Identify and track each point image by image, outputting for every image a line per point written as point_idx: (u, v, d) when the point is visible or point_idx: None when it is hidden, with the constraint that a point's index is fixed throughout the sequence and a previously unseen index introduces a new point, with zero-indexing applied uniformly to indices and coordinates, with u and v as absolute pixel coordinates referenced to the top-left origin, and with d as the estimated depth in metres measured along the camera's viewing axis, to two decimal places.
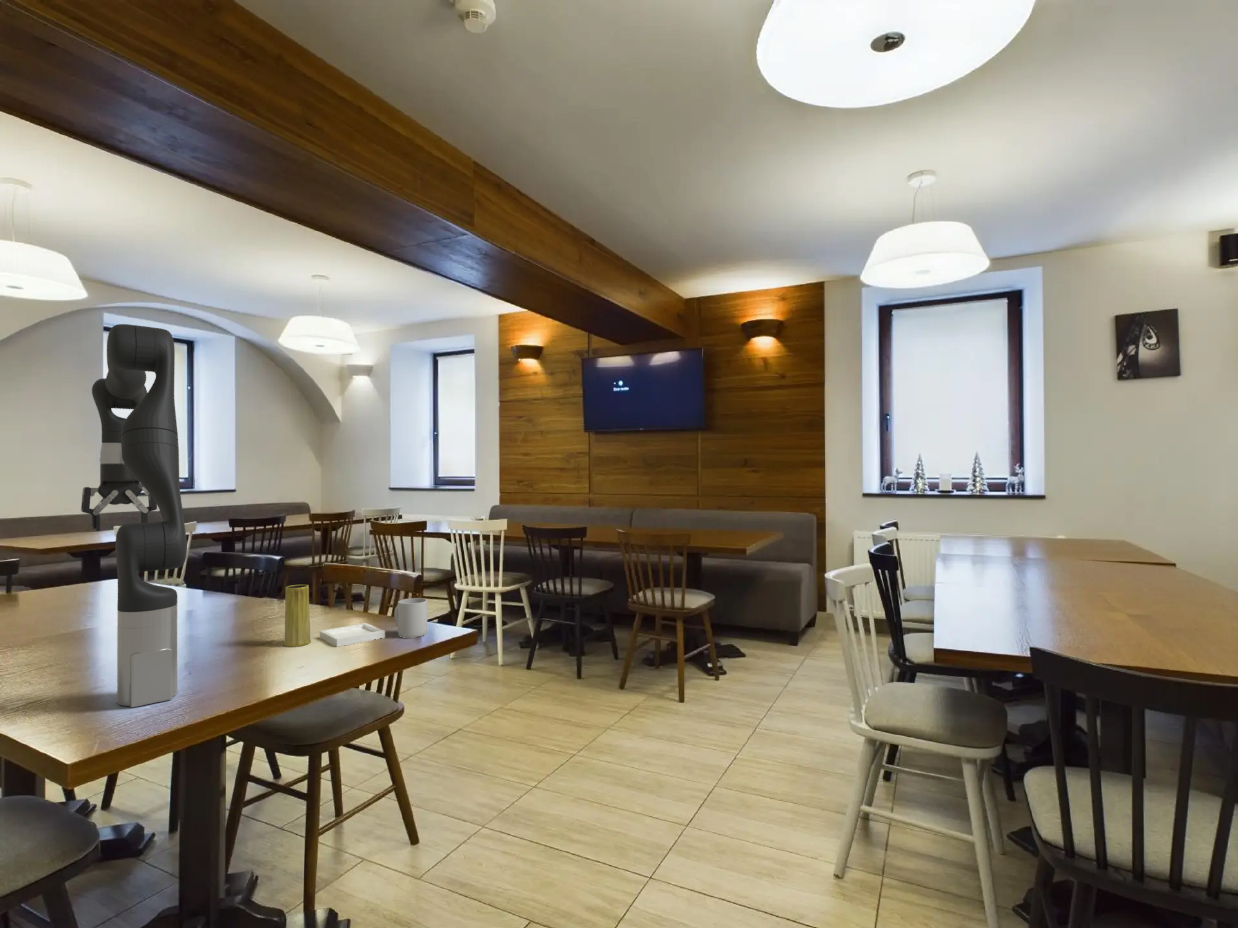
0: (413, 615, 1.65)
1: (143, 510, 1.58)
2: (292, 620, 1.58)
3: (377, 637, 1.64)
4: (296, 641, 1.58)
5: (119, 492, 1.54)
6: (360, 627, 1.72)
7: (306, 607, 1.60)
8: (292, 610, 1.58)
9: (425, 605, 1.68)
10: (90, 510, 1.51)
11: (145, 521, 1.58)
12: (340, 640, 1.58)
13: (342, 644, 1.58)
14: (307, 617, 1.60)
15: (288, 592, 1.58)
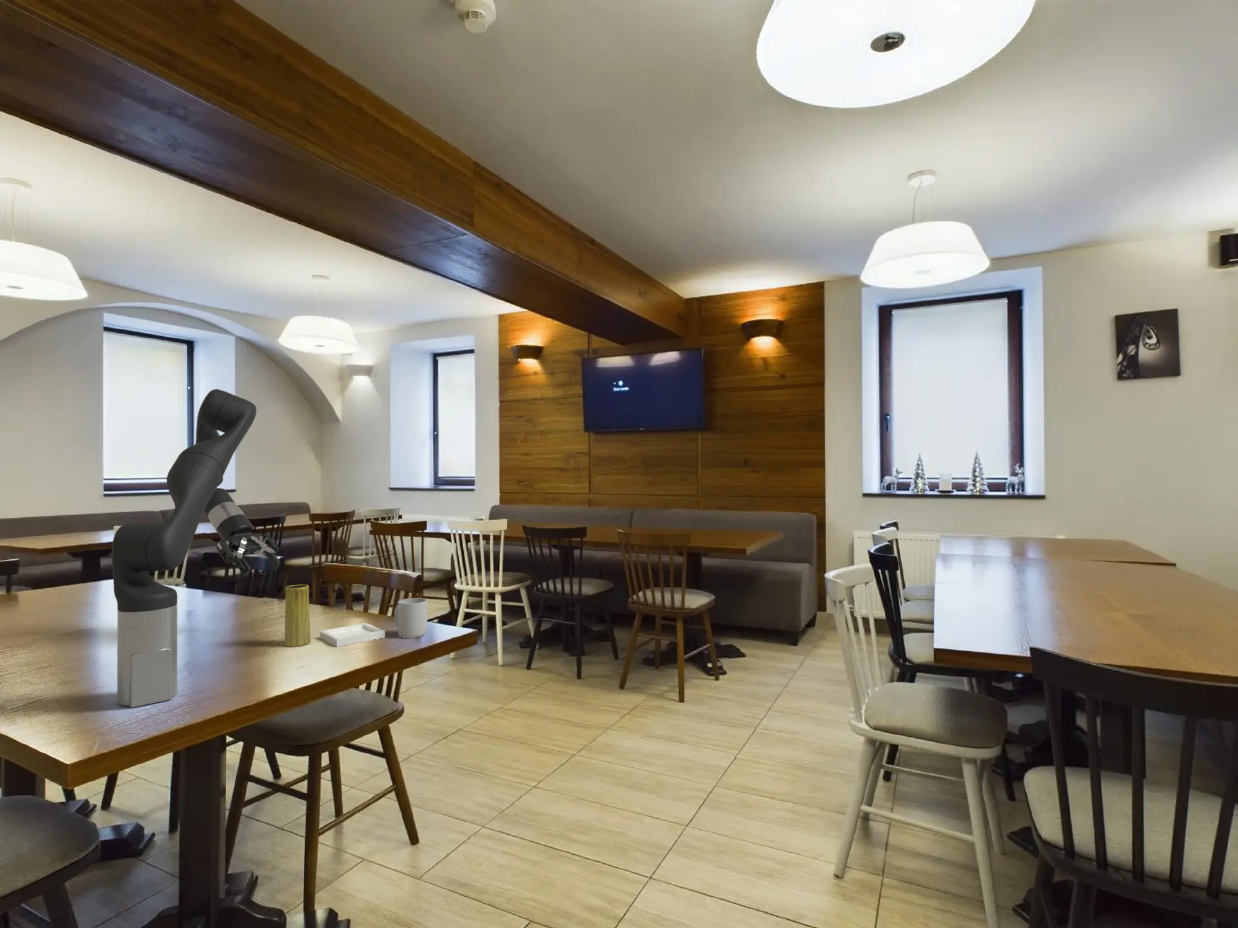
0: (413, 615, 1.65)
1: None
2: (292, 620, 1.58)
3: (377, 637, 1.64)
4: (296, 641, 1.58)
5: None
6: (360, 627, 1.72)
7: (306, 607, 1.60)
8: (292, 610, 1.58)
9: (425, 605, 1.68)
10: None
11: None
12: (340, 640, 1.58)
13: (342, 644, 1.58)
14: (307, 617, 1.60)
15: (288, 592, 1.58)
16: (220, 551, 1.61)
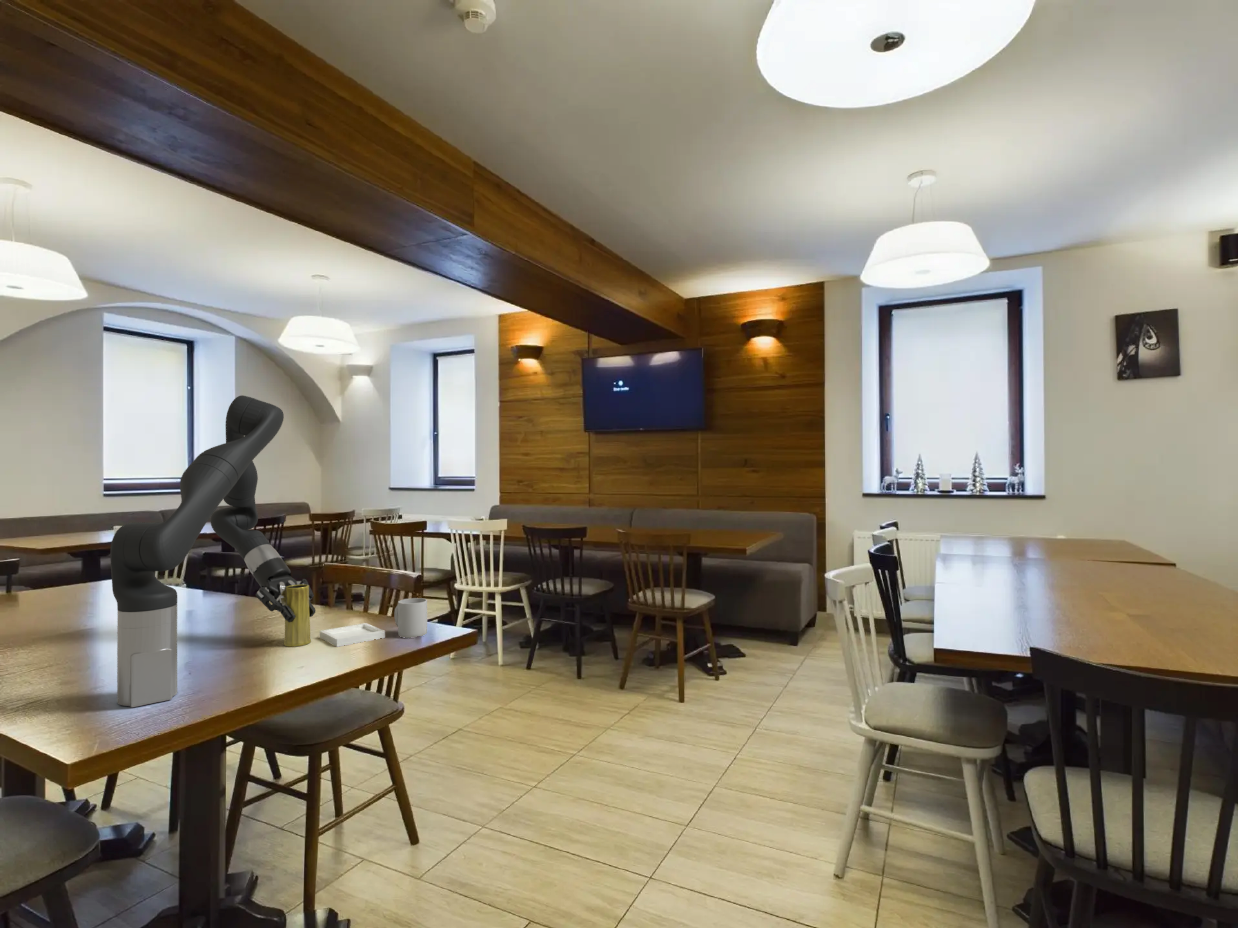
0: (413, 615, 1.65)
1: None
2: None
3: (377, 637, 1.64)
4: (296, 641, 1.58)
5: None
6: (360, 627, 1.72)
7: (306, 607, 1.60)
8: (292, 610, 1.58)
9: (425, 605, 1.68)
10: None
11: None
12: (340, 640, 1.58)
13: (342, 644, 1.58)
14: (307, 617, 1.60)
15: (288, 592, 1.58)
16: (262, 600, 1.56)
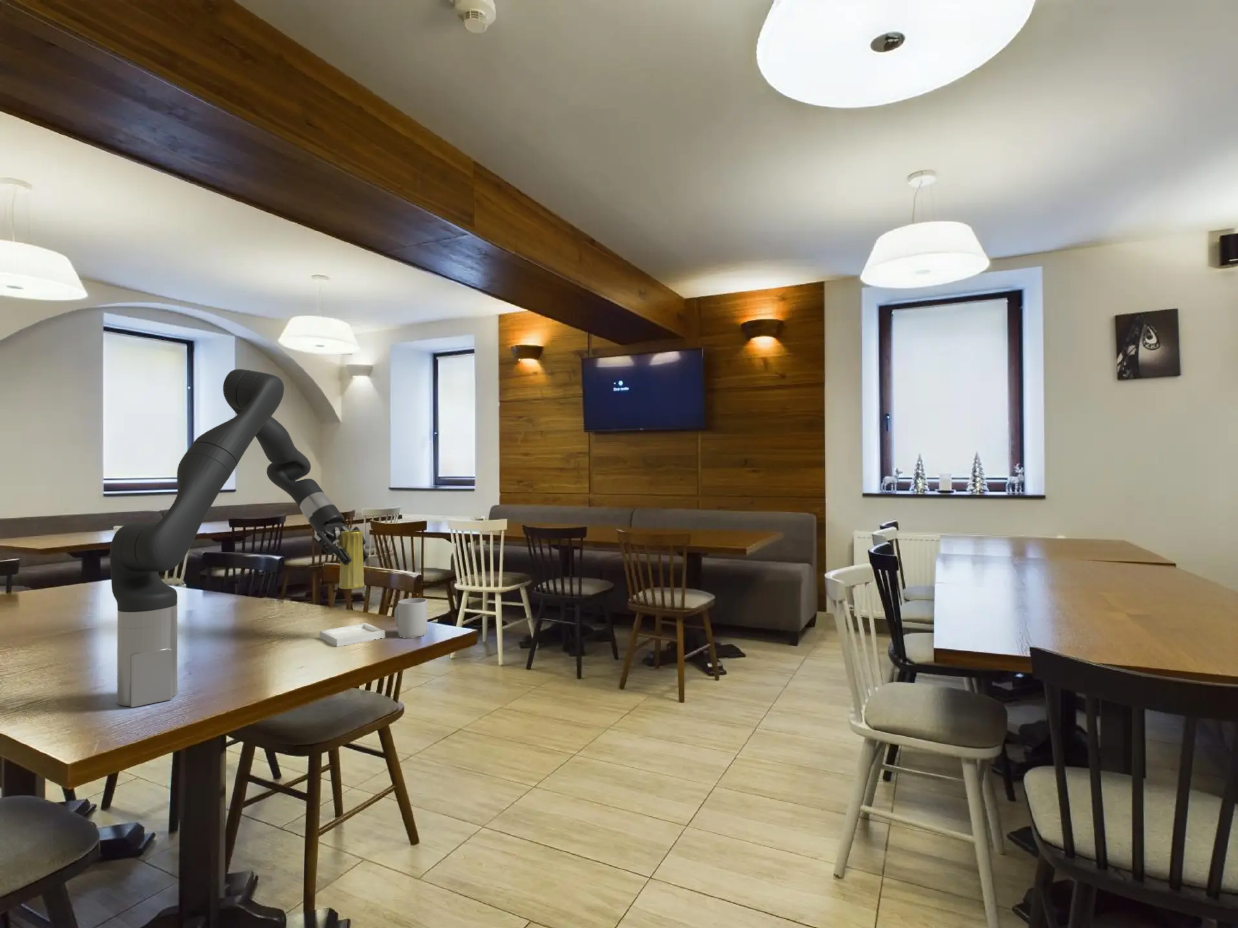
0: (413, 615, 1.65)
1: None
2: None
3: (377, 637, 1.64)
4: (351, 584, 1.63)
5: None
6: (360, 627, 1.72)
7: (360, 551, 1.66)
8: (348, 553, 1.64)
9: (425, 605, 1.68)
10: None
11: None
12: (340, 640, 1.58)
13: (342, 644, 1.58)
14: (361, 561, 1.66)
15: (343, 536, 1.64)
16: (319, 543, 1.62)
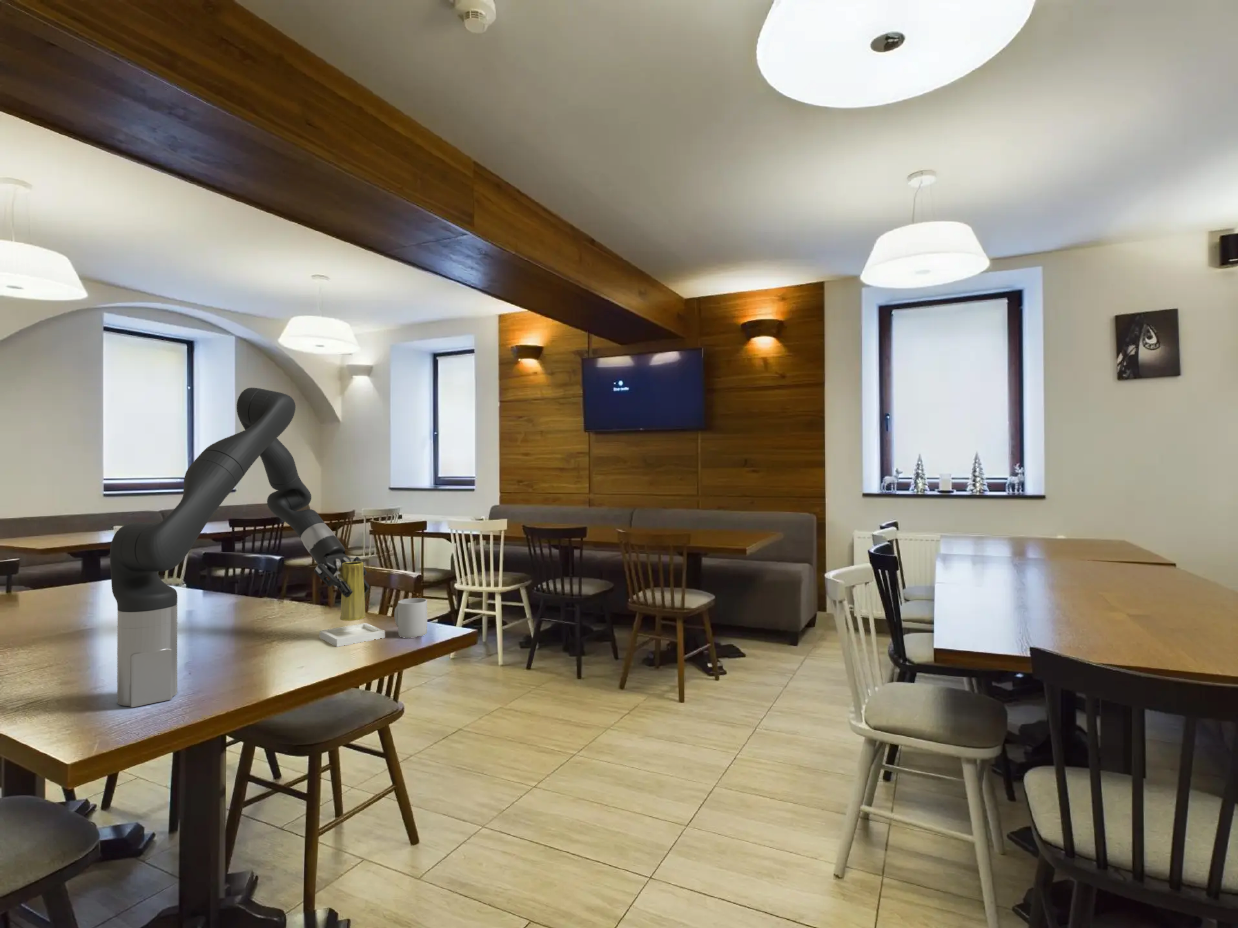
0: (413, 615, 1.65)
1: None
2: None
3: (377, 637, 1.64)
4: (352, 616, 1.64)
5: None
6: (360, 627, 1.72)
7: (361, 583, 1.66)
8: (349, 585, 1.64)
9: (425, 605, 1.68)
10: None
11: None
12: (340, 640, 1.58)
13: (342, 644, 1.58)
14: (362, 593, 1.66)
15: (344, 568, 1.64)
16: (320, 575, 1.62)
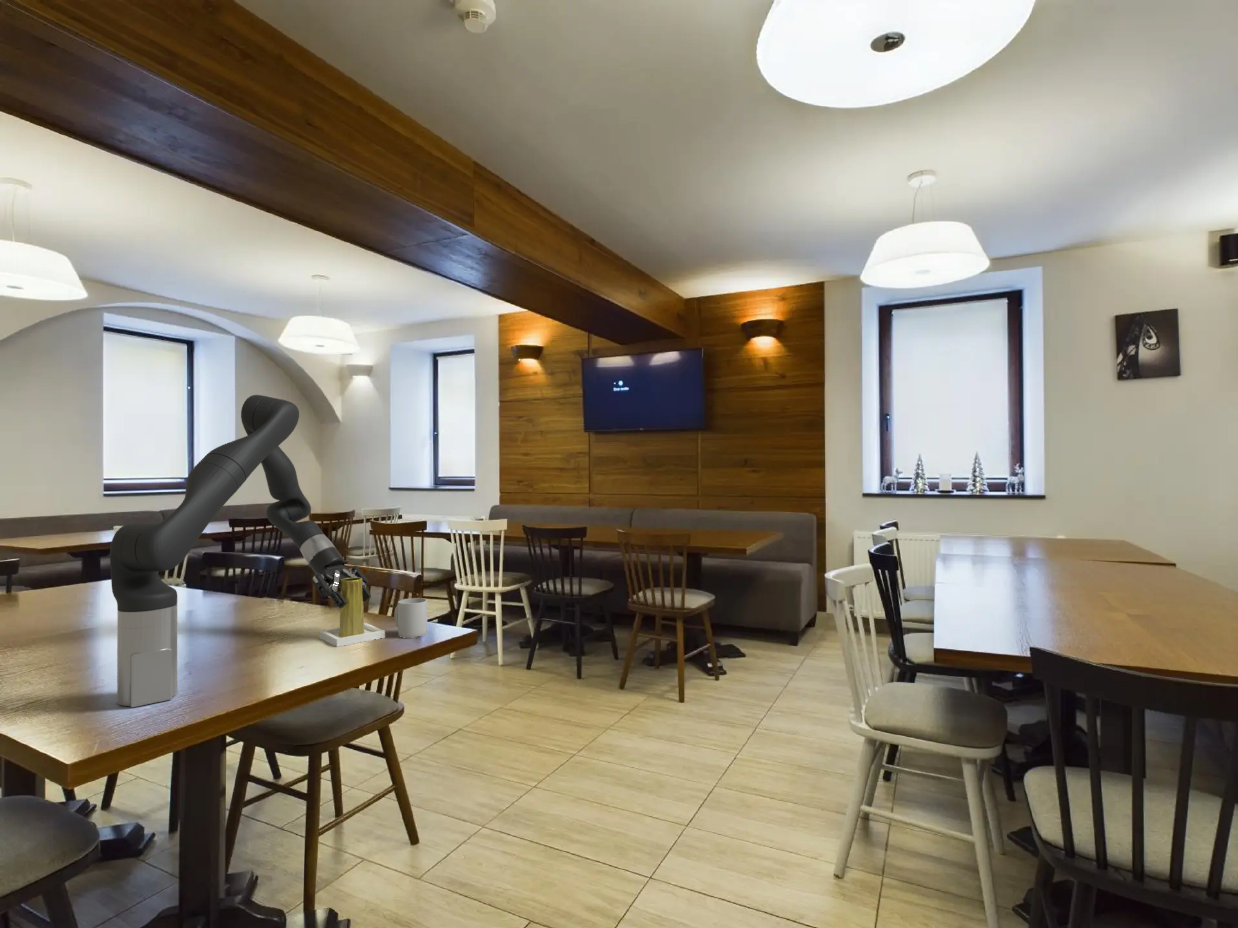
0: (413, 615, 1.65)
1: None
2: (347, 611, 1.63)
3: (377, 637, 1.64)
4: (351, 632, 1.63)
5: None
6: None
7: (360, 599, 1.65)
8: (347, 602, 1.63)
9: (425, 605, 1.68)
10: None
11: None
12: (340, 640, 1.58)
13: (342, 644, 1.58)
14: (361, 609, 1.65)
15: (343, 584, 1.64)
16: (316, 585, 1.61)
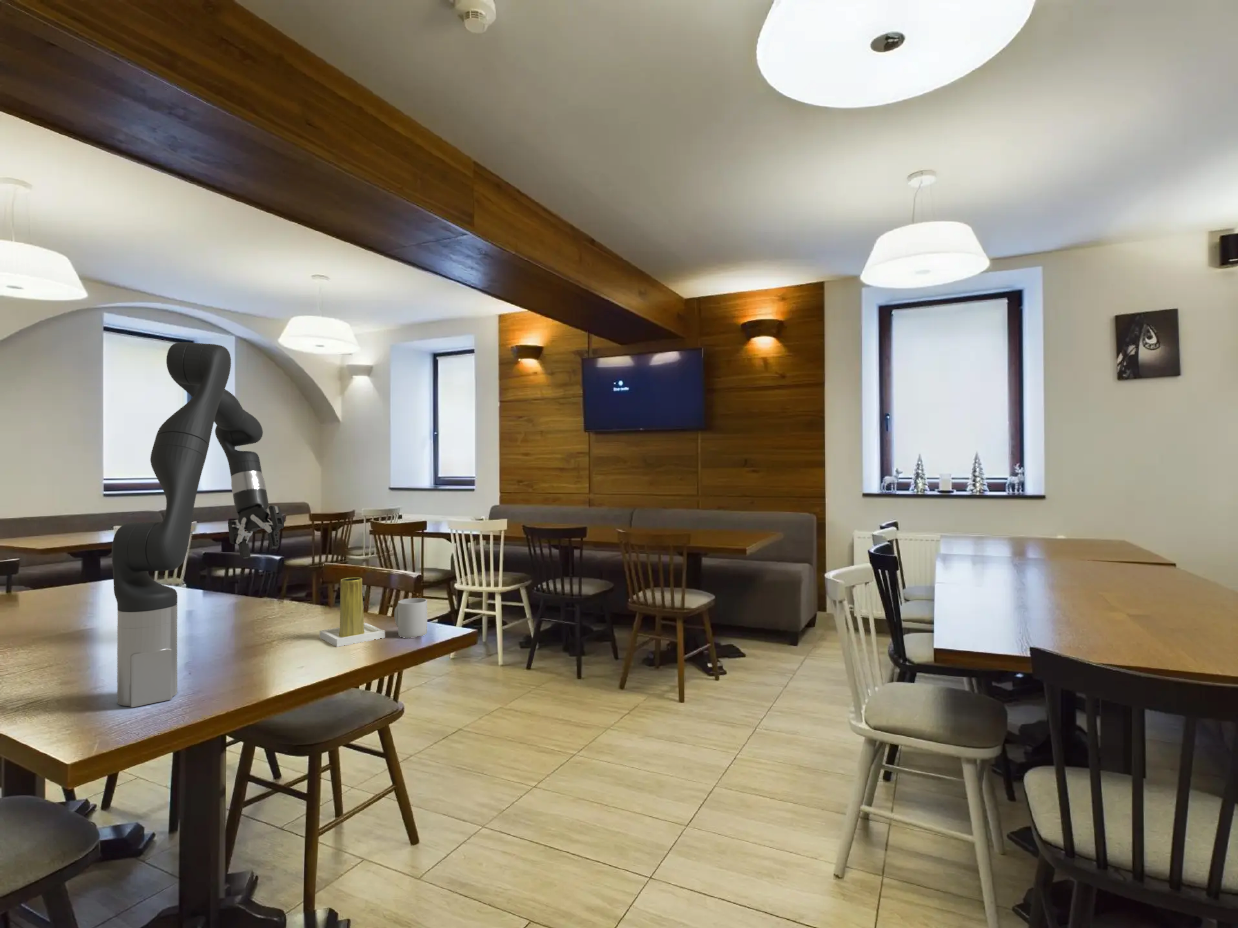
0: (413, 615, 1.65)
1: None
2: (347, 611, 1.63)
3: (377, 637, 1.64)
4: (351, 632, 1.63)
5: None
6: None
7: (360, 599, 1.65)
8: (347, 602, 1.63)
9: (425, 605, 1.68)
10: None
11: None
12: (340, 640, 1.58)
13: (342, 644, 1.58)
14: (361, 609, 1.65)
15: (343, 584, 1.64)
16: None
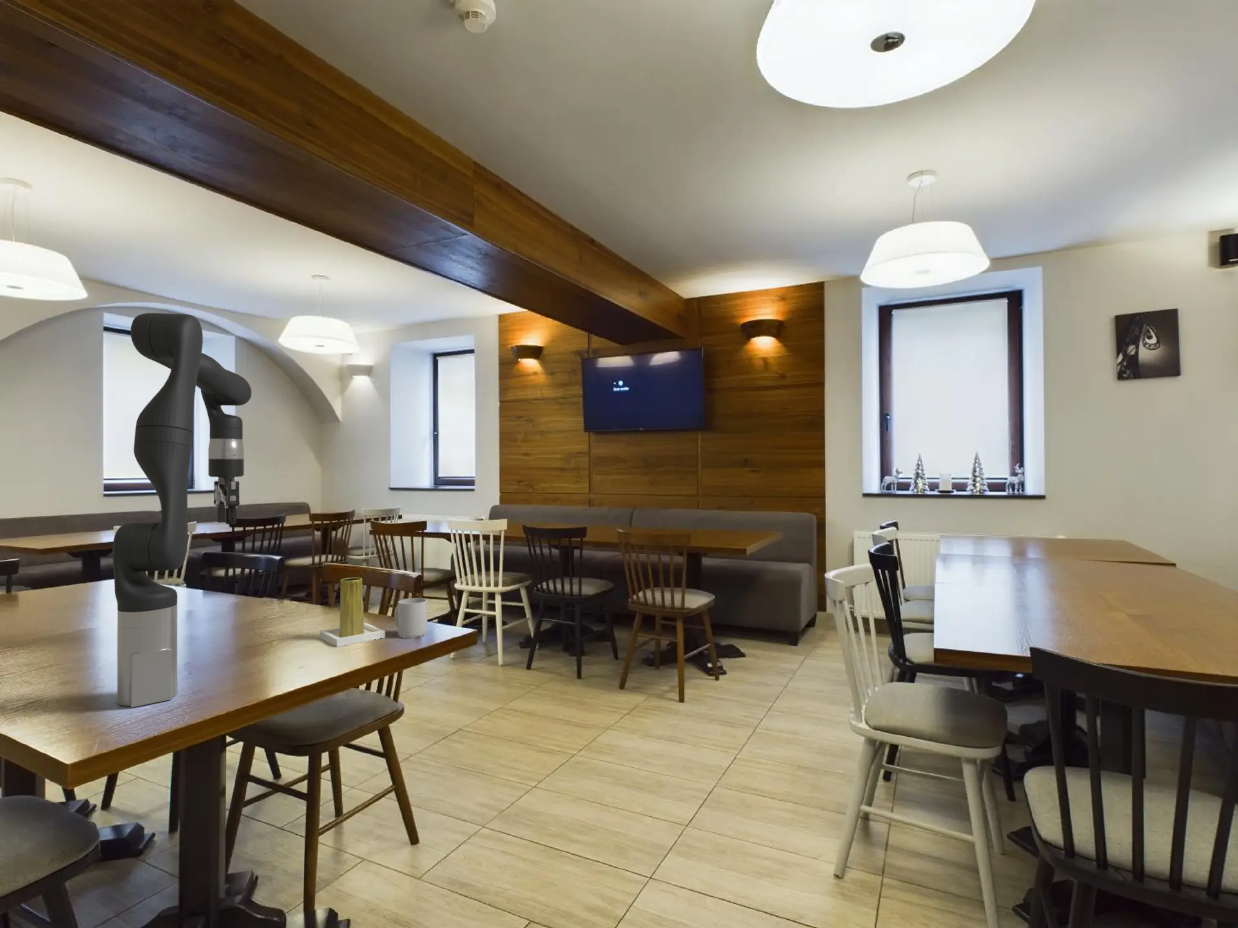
0: (413, 615, 1.65)
1: None
2: (347, 611, 1.63)
3: (377, 637, 1.64)
4: (351, 632, 1.63)
5: None
6: None
7: (360, 599, 1.65)
8: (347, 602, 1.63)
9: (425, 605, 1.68)
10: None
11: None
12: (340, 640, 1.58)
13: (342, 644, 1.58)
14: (361, 609, 1.65)
15: (343, 584, 1.64)
16: None
